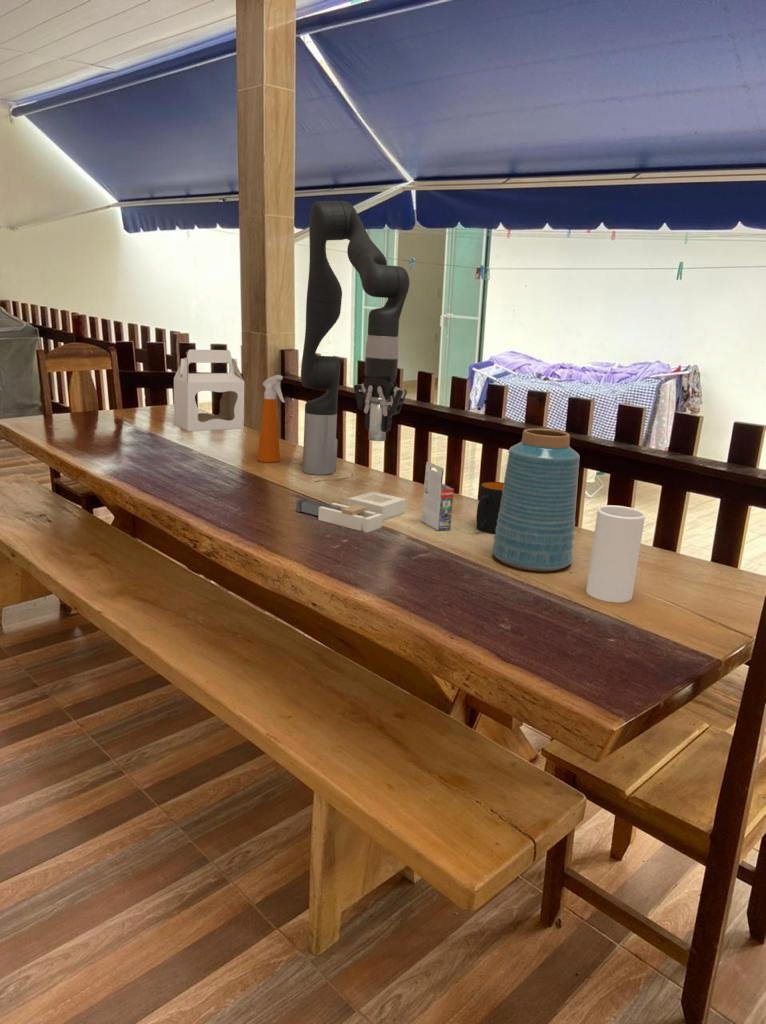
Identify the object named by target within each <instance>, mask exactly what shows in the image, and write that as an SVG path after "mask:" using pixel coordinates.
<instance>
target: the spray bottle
mask: <svg viewBox="0 0 766 1024" xmlns="http://www.w3.org/2000/svg"><path fill="white" fill-rule="evenodd" d="M283 378H284V377H283V376H282V375H281V374H275V375H272V376H270V377H269V378H267V379H265V380H264V381H263V382H262V385H263V387H264V388H265V391H264V392H263V393H264V394H263V405H262V414H261V421H260V422H261V424H260V429H259V430H260V431H259V439H258V447H257V456H256V460H257V461H258V462H260V463H267V464H268V463H269V464H272V463H279V462H280V461H281V454H280V450H281V449H280V437H279V436H280V435H279V422H278V420H279V419H278V406H277V396H278V398H279V400H280V401H281V402H282V403H286V400H285V399H284V396H283V392H282V390H281V389H282V388H281V383H282V381H283Z"/></svg>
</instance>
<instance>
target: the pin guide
mask: <svg viewBox="0 0 766 1024" xmlns="http://www.w3.org/2000/svg"><path fill="white" fill-rule="evenodd" d="M330 505H331V506H335V507H339V508H340V511H339V510H335V509H331V508H327V507H323V506H321V507H319V516H318V519H317V520H318V521H322V522H325V523H330V524H334V525H336V526H340V527H344V528H348V529H351V530H352V529H353V530H356V531H360V532H361V531H362V532H364V533H366V534H367V533H370V532H373V531H375V530H379V529H381V528H383V521H382V519H383V515H382V514H376V513H374V512H370V511H367V507H365V506H361V505H353V506H348V505H345V504H340V503H337V502H332V503H331V504H330Z"/></svg>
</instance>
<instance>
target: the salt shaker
mask: <svg viewBox="0 0 766 1024" xmlns="http://www.w3.org/2000/svg"><path fill="white" fill-rule="evenodd" d="M369 401H370V419H369V430H368V439H367V440H369V441H372V442H385V441H386V436H387V434H386V433H387V432H382V419H383V416H384V415H383V409H382V406H381V405H380V403H381V398H378V397H370V398H369ZM385 401H386V402H389V400H385Z"/></svg>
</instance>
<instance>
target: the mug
mask: <svg viewBox="0 0 766 1024" xmlns="http://www.w3.org/2000/svg"><path fill="white" fill-rule="evenodd" d="M503 485H504V482H501V481H485V482H482V483H481V484H480V486H479V487H480V488H479V497H478V503H477V508H476V516H475V517H476V520H475V521H476V527H475V528H476V529H477V530H478V531H479V532H482V533H486V534H489V535H495V533H496V530H495V529H496V525H497V518H498V512H499V508H500V503H501V496H502V490H503Z"/></svg>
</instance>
